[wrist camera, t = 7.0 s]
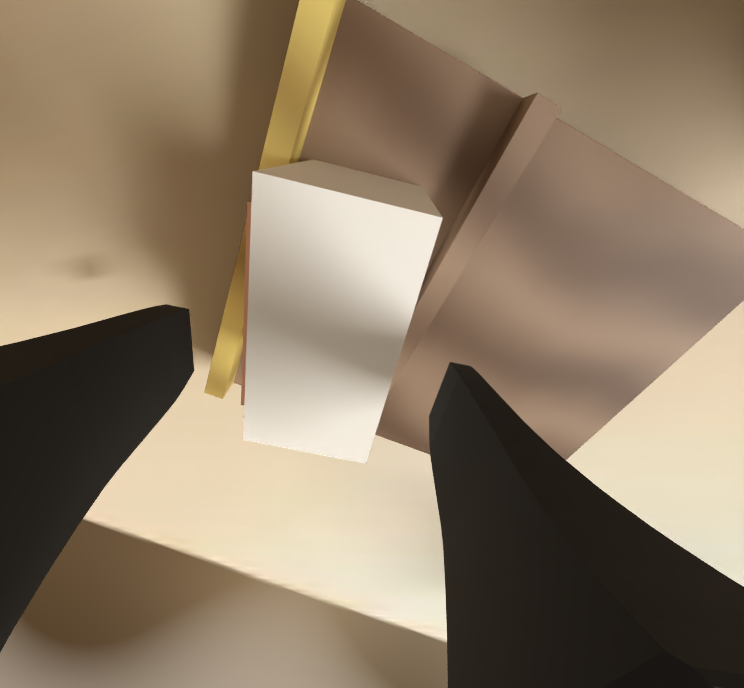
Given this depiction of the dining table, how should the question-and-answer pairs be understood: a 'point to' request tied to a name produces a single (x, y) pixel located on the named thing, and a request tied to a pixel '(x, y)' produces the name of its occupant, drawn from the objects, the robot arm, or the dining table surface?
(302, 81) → the shelf board
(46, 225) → the dining table surface
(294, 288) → the label carton
